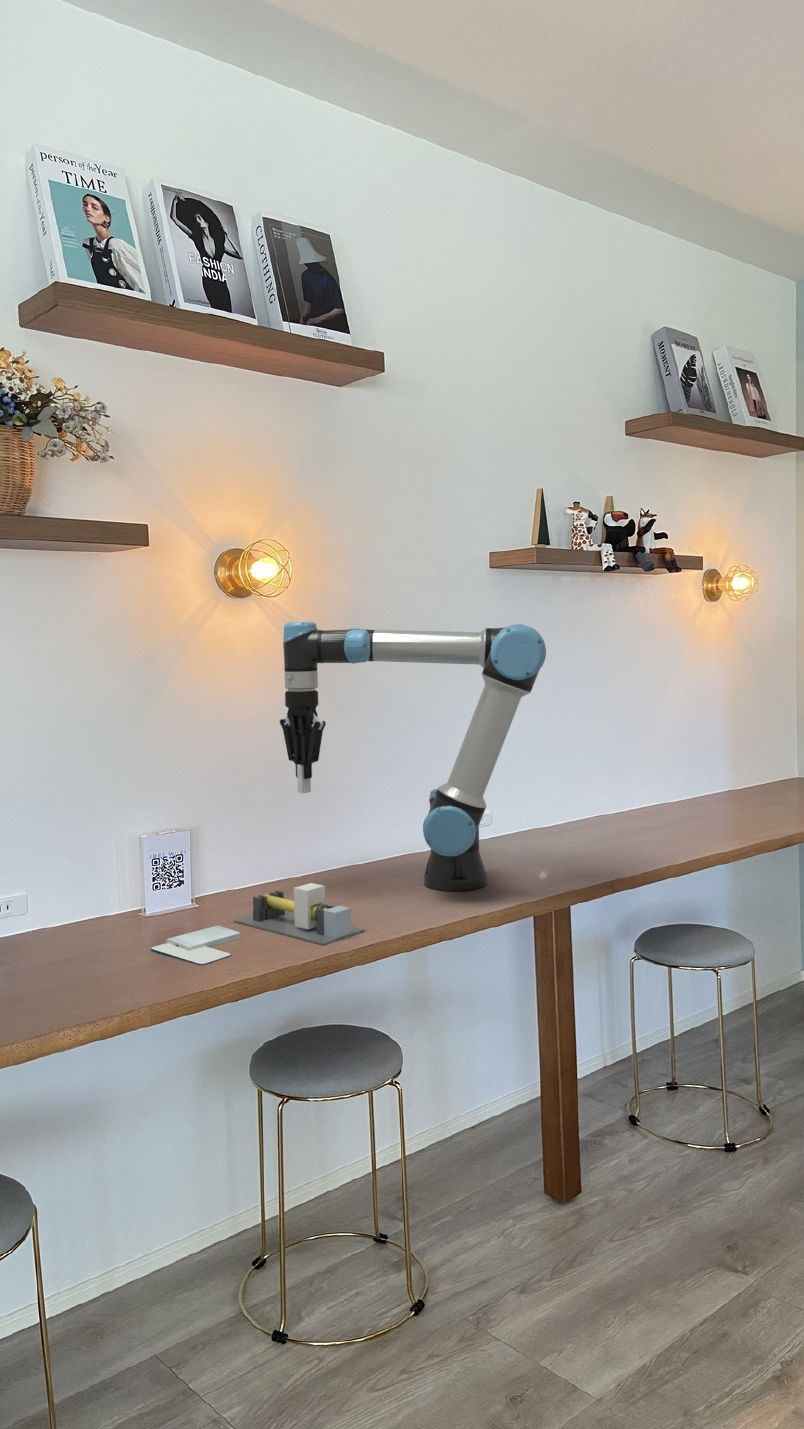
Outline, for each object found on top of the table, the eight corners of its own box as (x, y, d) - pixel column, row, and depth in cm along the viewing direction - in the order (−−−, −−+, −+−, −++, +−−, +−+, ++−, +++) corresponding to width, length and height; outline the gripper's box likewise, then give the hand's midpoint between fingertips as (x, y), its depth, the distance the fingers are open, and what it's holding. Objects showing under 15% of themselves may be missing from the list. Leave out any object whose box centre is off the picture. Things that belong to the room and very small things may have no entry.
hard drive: (216, 924, 220) (165, 937, 211) (240, 932, 214) (188, 946, 205) (217, 932, 220) (165, 946, 211) (240, 940, 214) (188, 954, 205)
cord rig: (233, 921, 226) (232, 894, 225) (275, 909, 235) (275, 883, 234) (323, 945, 208) (322, 916, 208) (364, 931, 217) (364, 903, 217)
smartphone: (234, 958, 203) (180, 942, 213) (233, 954, 203) (180, 938, 213) (201, 969, 197) (148, 952, 207) (201, 964, 197) (148, 948, 207)
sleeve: (294, 925, 218) (293, 887, 218) (312, 920, 222) (311, 882, 221) (308, 929, 216) (307, 890, 215) (325, 923, 219) (324, 885, 219)
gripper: (269, 690, 243) (272, 792, 245) (309, 691, 234) (312, 797, 236) (293, 688, 248) (296, 787, 250) (333, 689, 240) (336, 792, 242)
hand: (304, 792), depth 243 cm, fingers closed
